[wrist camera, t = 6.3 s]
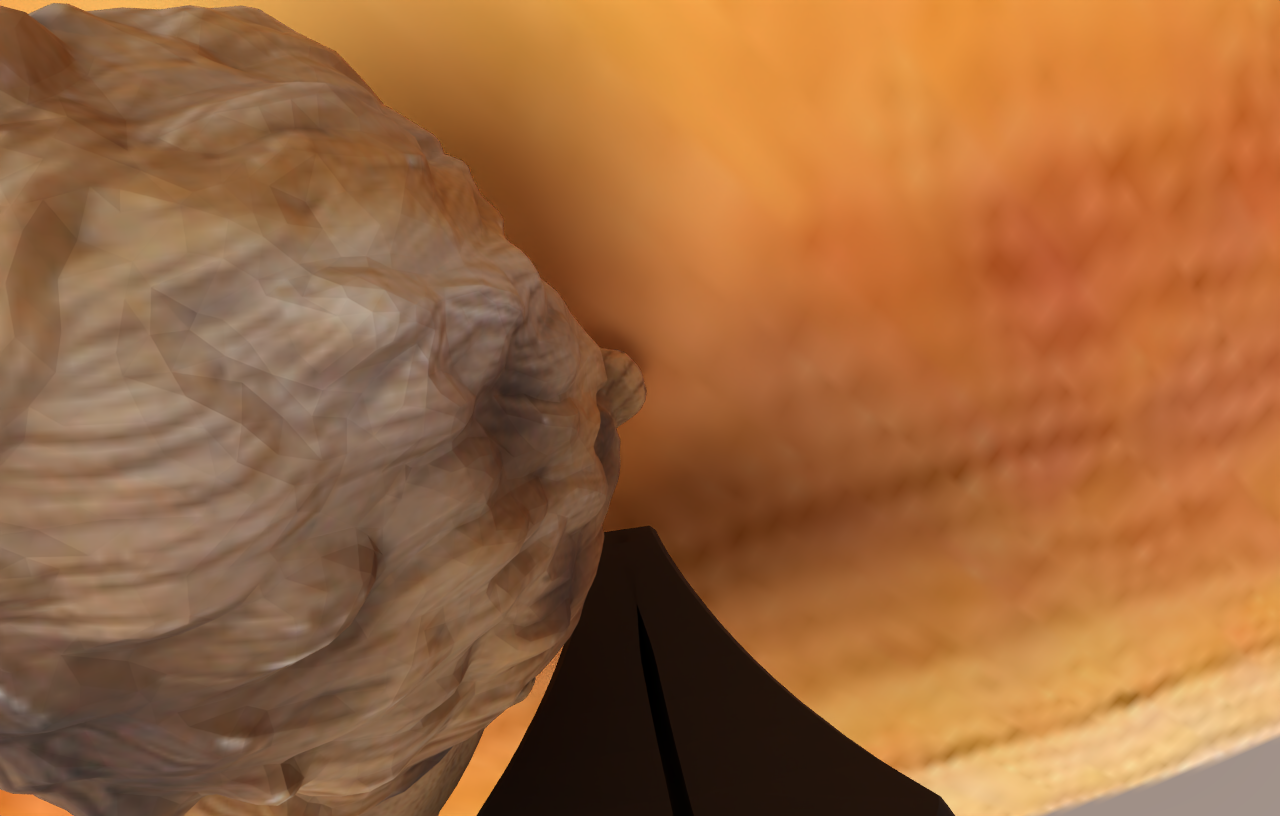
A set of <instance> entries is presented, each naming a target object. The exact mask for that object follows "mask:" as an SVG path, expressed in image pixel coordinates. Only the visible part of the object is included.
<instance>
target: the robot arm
mask: <svg viewBox="0 0 1280 816" xmlns="http://www.w3.org/2000/svg"><path fill="white" fill-rule="evenodd" d="M477 816H955V815H954V814H953V812H952V811H951V809H950V808H949V807H948V805H947V804H946V803H945V801H944V800H943V799H942V797H940V796H939V795H937V794H935V793H934V792H932V791H930V790H929V789H927V788H925V787H924V786H922V785H920V784H919V783H917V782H915V781H914V780H912V779H910V778H909V777H907V776H905V775H904V774H902V773H900V772H898V771H897V770H895V769H893V768H892V767H890V766H889V765H887V764H886V763H884V762H882V761H881V760H879V759H878V758H876V757H875V756H874V755H872V754H871V753H869V752H868V751H866V750H865V749H863V748H862V747H860V746H859V745H858V744H856V743H855V742H853V741H852V740H850V739H849V738H847V737H846V736H845V735H843V734H842V733H841V732H840V731H838V730H837V729H836V728H834V727H833V726H832V725H831V724H829V723H828V722H827V721H825V720H824V719H823V718H821V717H820V716H819V715H818V714H816V713H815V712H814V711H812V710H811V709H810V708H809V707H807V706H806V705H805V704H803V703H802V702H801V701H800V700H798V699H797V698H796V697H795V696H794V695H793V694H792V693H790V692H789V691H788V690H787V689H786V688H785V687H784V686H782V685H781V684H780V683H779V682H778V681H777V680H776V679H774V678H773V677H772V676H771V675H770V674H769V673H768V672H767V671H766V670H765V669H764V668H763V667H762V666H761V665H760V664H759V663H758V662H757V661H756V660H754V659H753V657H752V656H751V655H750V654H749V653H748V652H747V651H746V650H745V649H744V648H743V647H742V646H741V645H740V644H739V643H738V642H737V641H736V640H735V639H734V638H733V637H732V635H731V634H730V633H729V632H728V631H727V630H726V629H725V628H724V627H723V625H722V624H721V623H720V622H719V621H718V620H717V618H716V617H715V616H714V615H713V614H712V613H711V611H710V610H709V609H708V608H707V606H706V605H705V604H704V603H703V601H702V600H701V599H700V597H699V596H698V595H697V594H696V592H695V591H694V590H693V588H692V587H691V586H690V585H689V583H688V582H687V580H686V579H685V578H684V576H683V575H682V573H681V572H680V570H679V569H678V567H677V566H676V565H675V563H674V562H673V560H672V558H671V557H670V555H669V554H668V552H667V550H666V549H665V547H664V545H663V543H662V542H661V540H660V538H659V536H658V534H657V532H656V530H655V529H653V528H652V527H650V526H644V527H638V528H631V529H624V530H617V531H610V532H604V542H603V547H602V552H601V556H600V560H599V564H598V568H597V572H596V575H595V578H594V580H593V583H592V585H591V587H590V589H589V591H588V594H587V596H586V599H585V602H584V605H583V608H582V612H581V616H580V619H579V622H578V624H577V626H576V627H575V629H574V631H573V633H572V634H571V636H570V638H569V639H568V640H567V641H566V643H565V644H564V646H563V649H562V652H561V655H560V657H559V660H558V663H557V666H556V668H555V671H554V673H553V676H552V678H551V680H550V683H549V685H548V687H547V690H546V692H545V694H544V696H543V699H542V701H541V703H540V705H539V707H538V709H537V712H536V714H535V716H534V718H533V720H532V722H531V724H530V725H529V727H528V729H527V731H526V733H525V735H524V737H523V739H522V741H521V743H520V745H519V747H518V748H517V750H516V752H515V754H514V756H513V757H512V759H511V761H510V763H509V764H508V766H507V768H506V770H505V771H504V773H503V775H502V776H501V778H500V779H499V781H498V783H497V784H496V786H495V787H494V789H493V790H492V792H491V794H490V795H489V797H488V798H487V800H486V802H485V803H484V805H483V806H482V808H481V809H480V811H479V813H478V814H477Z"/></svg>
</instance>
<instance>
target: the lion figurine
mask: <svg viewBox="0 0 1280 816" xmlns="http://www.w3.org/2000/svg"><path fill="white" fill-rule="evenodd" d="M503 227H504V219H503V217H502V215H501V214H500V212H499V211H498V210H497V209H496V208H495V207H493V206H492V205H491V204H490V203H489V202H488V201H487V200H486V199H485V198H483V197H482V196H481V194H480V192H479V190H478V188H477V186H476V184H475V182H474V181H473V179H472V176H471V173H470V170H469V167H468V166H467V165H466V164H465V163H464V162H463V161H462V160H459V159H456V158H454V157H451V156H448V155H446V154H444V152H443V149H442V147H441V144H440V141H439V140H438V139H437V138H436V137H435V136H434V135H433V134H432V133H430V132H428V131H427V130H425V129H423V128H422V127H420V126H418V125H417V124H415V123H413V122H412V121H410V120H408V119H407V118H405V117H404V116H402V115H400V114H399V113H397V112H396V111H394V110H392V109H391V108H389V107H386V106H384V104H383V103H382V102H381V101H380V99H379V98H378V97H377V96H376V94H375V93H374V92H373V91H372V90H371V89H370V87H369V86H368V85H367V84H366V83H365V82H364V81H363V79H362V78H361V77H360V76H359V75H358V74H357V73H356V72H355V71H354V70H353V69H352V68H351V67H350V66H349V65H348V64H347V63H346V62H345V60H344V59H343V58H342V57H341V56H340V55H339V54H338V53H337V52H336V51H334V50H332V49H330V48H327V47H325V46H323V45H321V44H319V43H317V42H315V41H313V40H311V39H309V38H307V37H305V36H303V35H301V34H299V33H297V32H295V31H294V30H292V29H290V28H289V27H287V26H285V25H284V24H282V23H281V22H279V21H277V20H276V19H274V18H272V17H271V16H269V15H268V14H266V13H264V12H263V11H261V10H259V9H256V8H251V7H246V6H233V7H221V8H204V7H197V6H191V5H189V6H181V7H174V8H167V9H160V10H158V9H139V8H113V9H104V10H95V11H84V10H81V9H79V8H77V7H74V6H72V5H70V4H60V3H53V4H50V5H47V6H45V7H42V8H40V9H38V10H36V11H34V12H32V13H30V14H27V13H26V12H22V11H19V10H15V9H11V8H7V7H3V6H0V789H1V790H4V791H7V792H10V793H13V794H33V795H34V796H36V797H38V798H39V799H42V800H44V801H47V802H49V803H51V804H53V805H56V806H58V807H60V808H62V809H65V810H67V811H68V812H69V813H71V814H72V815H74V816H438V815H439V812H440V810H441V809H442V807H443V806H444V804H445V803H446V801H447V800H448V798H449V797H450V795H451V794H452V792H453V791H454V789H455V787H456V786H457V784H458V782H459V781H460V779H461V777H462V775H463V773H464V771H465V769H466V768H467V766H468V764H469V762H470V760H471V758H472V756H473V754H474V751H475V749H476V747H477V745H478V743H479V740H480V738H481V736H482V734H483V731H484V729H485V728H486V727H487V726H488V725H489V724H490V723H491V722H492V721H493V720H494V719H495V718H496V717H498V716H499V715H500V714H501V713H502V712H504V711H505V710H506V709H507V708H509V707H511V706H513V705H515V704H517V703H519V702H521V701H523V700H524V699H525V698H526V697H527V696H528V694H529V693H530V691H531V690H532V687H533V685H534V683H535V679H536V678H535V677H536V676H537V675H538V674H539V673H540V672H541V671H542V670H543V669H544V668H545V667H546V666H547V664H548V663H549V662H550V661H551V660H552V659H553V658H554V656H555V655H556V654H557V653H558V651H559V650H560V649H561V648H562V646H563V645H564V644H565V643H566V641H567V640H568V639H569V638H570V636H571V634H572V633H573V631H574V629H575V627H576V626H577V624H578V622H579V619H580V616H581V612H582V608H583V605H584V602H585V599H586V596H587V594H588V591H589V589H590V587H591V585H592V583H593V580H594V578H595V575H596V572H597V568H598V564H599V560H600V556H601V552H602V547H603V542H604V532H603V527H602V524H603V522H604V519H605V517H606V514H607V512H608V508H609V504H610V501H611V498H612V495H613V492H614V490H615V487H616V484H617V482H618V478H619V473H620V438H619V435H618V433H617V430H616V428H617V427H618V426H620V425H621V424H623V423H624V422H626V421H627V420H629V419H630V418H631V417H633V416H634V415H635V414H637V413H638V411H639V410H640V409H641V408H642V406H643V404H644V402H645V399H646V392H647V391H646V387H645V383H644V379H643V375H642V373H641V370H640V368H639V367H638V365H637V364H636V363H635V362H634V361H633V360H632V359H631V358H630V357H629V356H628V355H627V354H626V353H625V352H622V351H619V350H609V349H606V348H602V347H599V346H598V345H597V344H596V343H595V341H594V340H593V339H592V338H591V337H590V336H589V335H588V334H587V333H586V332H585V330H584V329H583V328H582V327H581V325H580V324H579V323H578V322H577V320H576V319H575V318H574V317H573V315H572V314H571V313H570V311H569V309H568V307H567V305H566V303H565V302H564V300H563V299H562V298H561V296H560V295H559V293H558V292H557V291H556V290H555V289H553V288H552V287H551V286H550V285H548V284H547V283H546V282H545V281H544V280H542V279H541V278H540V276H539V273H538V271H537V270H536V268H535V267H534V265H533V263H532V262H531V260H530V259H529V258H528V257H527V256H526V255H525V254H524V253H523V252H522V251H521V249H519V248H517V247H516V246H514V245H513V244H511V243H510V242H509V241H508V240H507V239H506V238H505V236H504V232H503Z"/></svg>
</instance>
